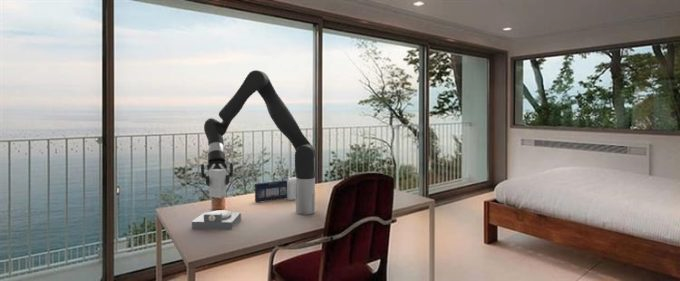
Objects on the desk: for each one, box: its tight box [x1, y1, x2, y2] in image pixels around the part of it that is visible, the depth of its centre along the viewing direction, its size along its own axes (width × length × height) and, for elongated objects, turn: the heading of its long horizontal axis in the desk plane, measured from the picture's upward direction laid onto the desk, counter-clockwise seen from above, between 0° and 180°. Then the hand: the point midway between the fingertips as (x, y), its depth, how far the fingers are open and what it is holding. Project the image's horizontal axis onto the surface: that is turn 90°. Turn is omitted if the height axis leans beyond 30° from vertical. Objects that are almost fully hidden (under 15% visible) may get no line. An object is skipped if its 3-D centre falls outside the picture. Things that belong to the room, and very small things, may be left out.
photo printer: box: [286, 176, 296, 201], centre depth 212 cm, size 10×4×12 cm, turn 123°
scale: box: [191, 209, 242, 230], centre depth 168 cm, size 17×14×6 cm
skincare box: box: [208, 169, 227, 199], centre depth 168 cm, size 6×4×12 cm
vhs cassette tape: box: [254, 179, 288, 203], centre depth 209 cm, size 18×3×10 cm, turn 120°
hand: (217, 184), depth 167 cm, fingers closed on skincare box, 7 cm apart
